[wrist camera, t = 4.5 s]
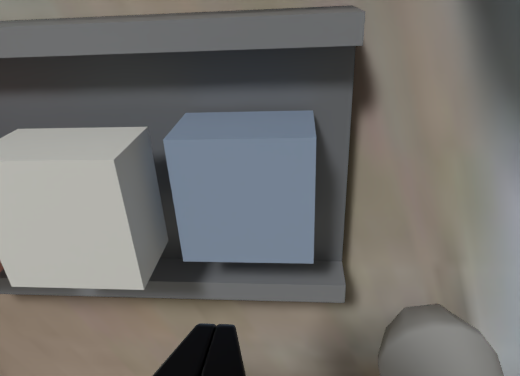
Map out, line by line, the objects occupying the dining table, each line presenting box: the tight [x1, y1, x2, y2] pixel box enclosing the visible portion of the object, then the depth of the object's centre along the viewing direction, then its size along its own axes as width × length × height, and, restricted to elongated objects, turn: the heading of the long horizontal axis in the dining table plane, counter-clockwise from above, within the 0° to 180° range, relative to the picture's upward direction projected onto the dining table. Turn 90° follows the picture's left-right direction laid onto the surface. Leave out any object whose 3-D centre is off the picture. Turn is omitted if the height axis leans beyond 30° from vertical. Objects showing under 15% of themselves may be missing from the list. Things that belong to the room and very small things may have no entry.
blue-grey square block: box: [163, 110, 316, 264], centre depth 15 cm, size 5×5×3 cm
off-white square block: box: [0, 127, 168, 290], centre depth 14 cm, size 5×5×3 cm
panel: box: [0, 6, 365, 303], centre depth 17 cm, size 20×12×3 cm, turn 92°
